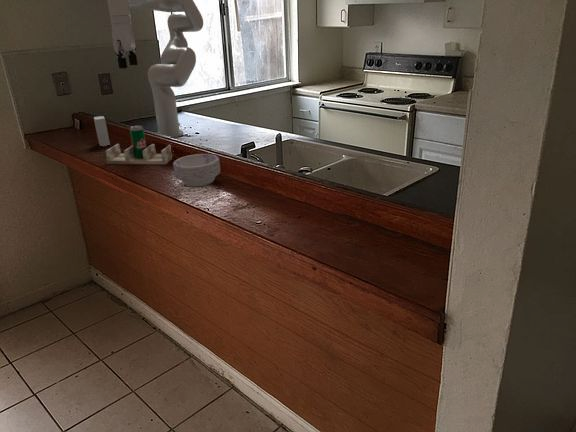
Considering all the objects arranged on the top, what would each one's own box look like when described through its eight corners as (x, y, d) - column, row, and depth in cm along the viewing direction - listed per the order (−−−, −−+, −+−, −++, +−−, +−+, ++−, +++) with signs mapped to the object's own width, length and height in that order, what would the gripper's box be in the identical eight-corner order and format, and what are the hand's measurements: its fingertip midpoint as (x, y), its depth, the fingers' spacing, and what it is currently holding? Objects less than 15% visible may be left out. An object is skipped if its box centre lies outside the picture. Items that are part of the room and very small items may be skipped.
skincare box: (98, 143, 220) (93, 117, 215) (108, 142, 222) (103, 115, 217) (100, 147, 215) (94, 119, 210) (110, 145, 217) (105, 118, 212)
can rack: (118, 156, 200) (116, 143, 198) (174, 156, 197) (173, 143, 195) (107, 163, 191) (104, 150, 189) (165, 164, 188) (163, 150, 186)
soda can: (139, 159, 190) (134, 128, 186) (131, 157, 193) (126, 127, 188) (150, 156, 194) (145, 126, 189) (142, 154, 197) (137, 124, 192)
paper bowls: (166, 183, 167) (163, 161, 164) (203, 172, 177) (201, 150, 174) (193, 193, 157) (190, 169, 154) (230, 181, 167) (228, 158, 164)
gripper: (121, 20, 200) (129, 64, 207) (101, 22, 184) (109, 69, 191) (139, 19, 199) (146, 63, 206) (120, 21, 183) (128, 69, 190)
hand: (128, 66), depth 199 cm, fingers open, 9 cm apart
